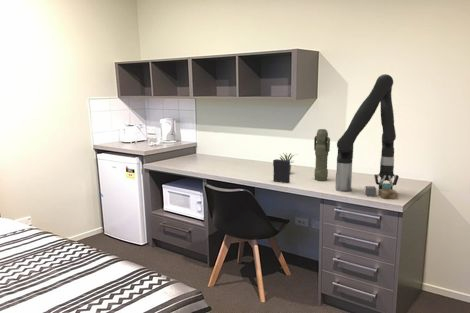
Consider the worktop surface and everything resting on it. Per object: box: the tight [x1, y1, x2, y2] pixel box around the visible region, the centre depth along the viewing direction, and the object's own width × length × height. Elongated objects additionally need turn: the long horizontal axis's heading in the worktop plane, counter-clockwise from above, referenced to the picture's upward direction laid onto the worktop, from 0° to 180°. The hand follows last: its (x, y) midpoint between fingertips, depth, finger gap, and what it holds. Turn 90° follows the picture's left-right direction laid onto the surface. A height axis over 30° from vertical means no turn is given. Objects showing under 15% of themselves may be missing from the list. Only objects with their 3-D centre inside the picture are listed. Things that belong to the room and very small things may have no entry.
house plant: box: [278, 152, 299, 172], centre depth 289 cm, size 14×14×16 cm
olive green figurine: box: [313, 128, 331, 182], centre depth 265 cm, size 9×12×35 cm
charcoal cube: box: [365, 185, 377, 197], centre depth 227 cm, size 5×5×5 cm
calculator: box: [272, 158, 291, 184], centre depth 262 cm, size 11×4×15 cm, turn 56°
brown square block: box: [378, 188, 399, 200], centre depth 222 cm, size 8×8×4 cm
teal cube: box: [381, 182, 391, 189], centre depth 232 cm, size 5×5×5 cm
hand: (385, 191), depth 232 cm, fingers closed on teal cube, 5 cm apart
